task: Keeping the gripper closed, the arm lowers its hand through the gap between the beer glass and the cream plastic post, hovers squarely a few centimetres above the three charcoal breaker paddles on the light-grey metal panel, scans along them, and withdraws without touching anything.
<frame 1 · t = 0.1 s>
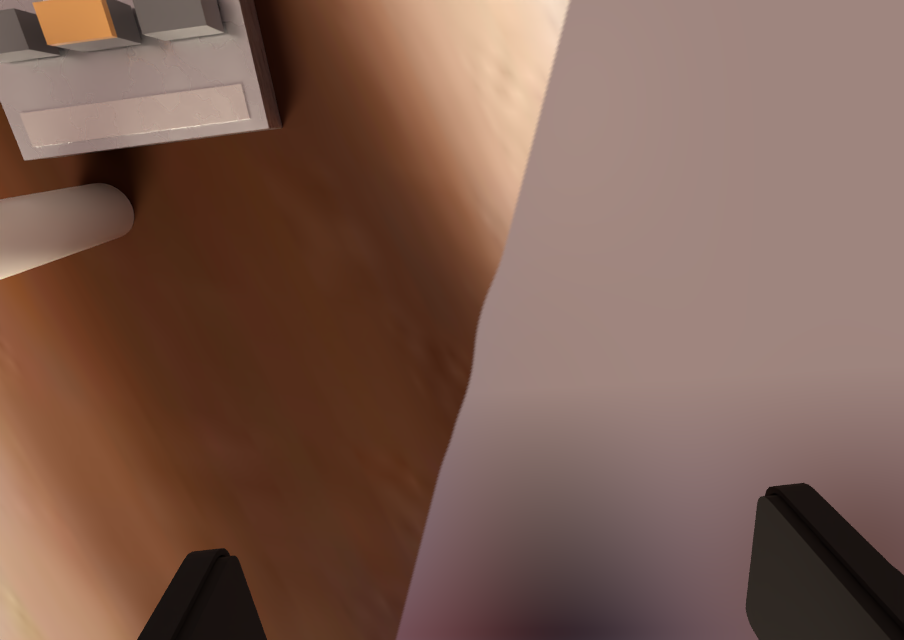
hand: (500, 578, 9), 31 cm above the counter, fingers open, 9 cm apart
paddle mid: (90, 24, 29), point 5 cm above the counter, hinge at 0.0°
breaker panel: (139, 46, 34), on the counter
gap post: (105, 211, 37), on the counter
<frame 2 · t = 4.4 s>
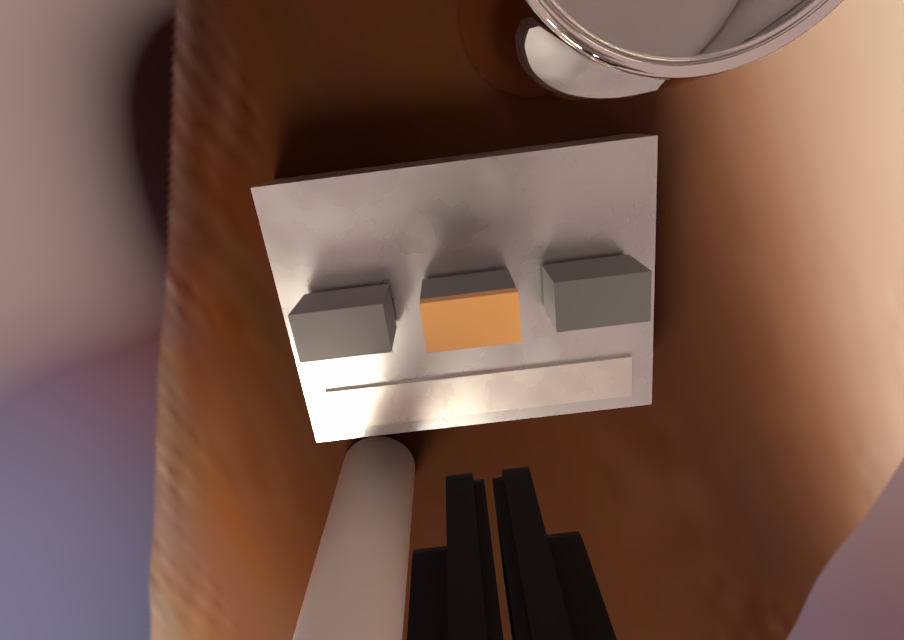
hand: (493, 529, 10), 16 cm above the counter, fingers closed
paddle mid: (469, 309, 20), point 5 cm above the counter, hinge at 0.0°
breaker panel: (465, 284, 25), on the counter
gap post: (379, 466, 29), on the counter
beer glass: (532, 17, 21), on the counter
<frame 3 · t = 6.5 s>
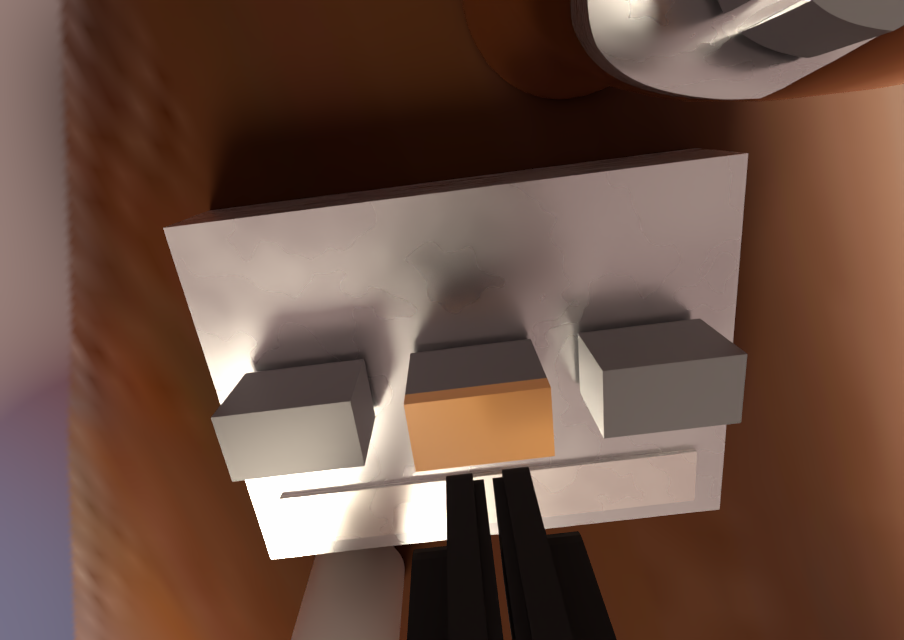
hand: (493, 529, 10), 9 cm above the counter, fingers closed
paddle mid: (477, 400, 14), point 5 cm above the counter, hinge at 0.0°
breaker panel: (469, 346, 19), on the counter
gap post: (359, 569, 23), on the counter
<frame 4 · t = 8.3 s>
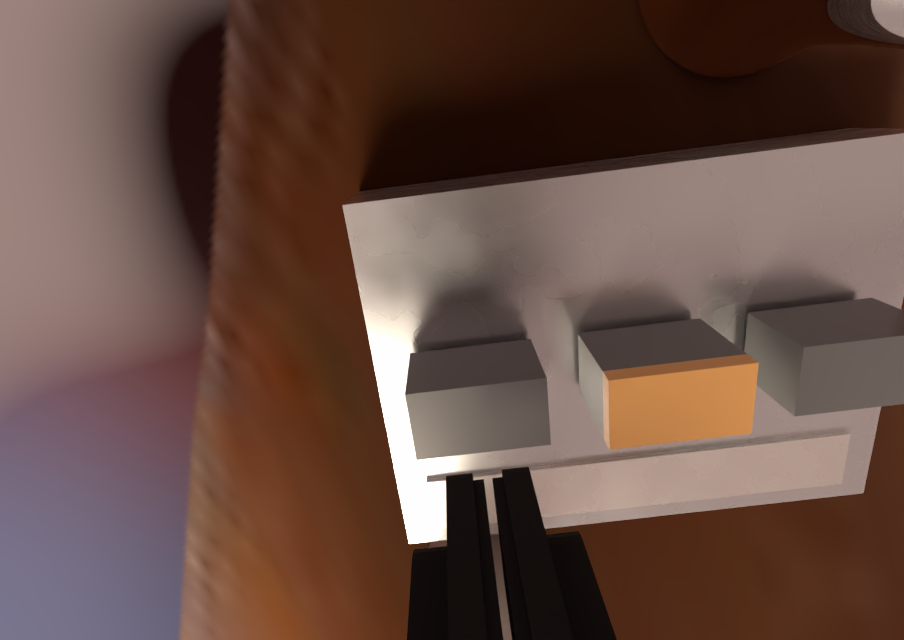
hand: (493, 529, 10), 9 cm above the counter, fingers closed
paddle mid: (657, 379, 14), point 5 cm above the counter, hinge at 0.0°
breaker panel: (605, 330, 19), on the counter
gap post: (472, 556, 23), on the counter
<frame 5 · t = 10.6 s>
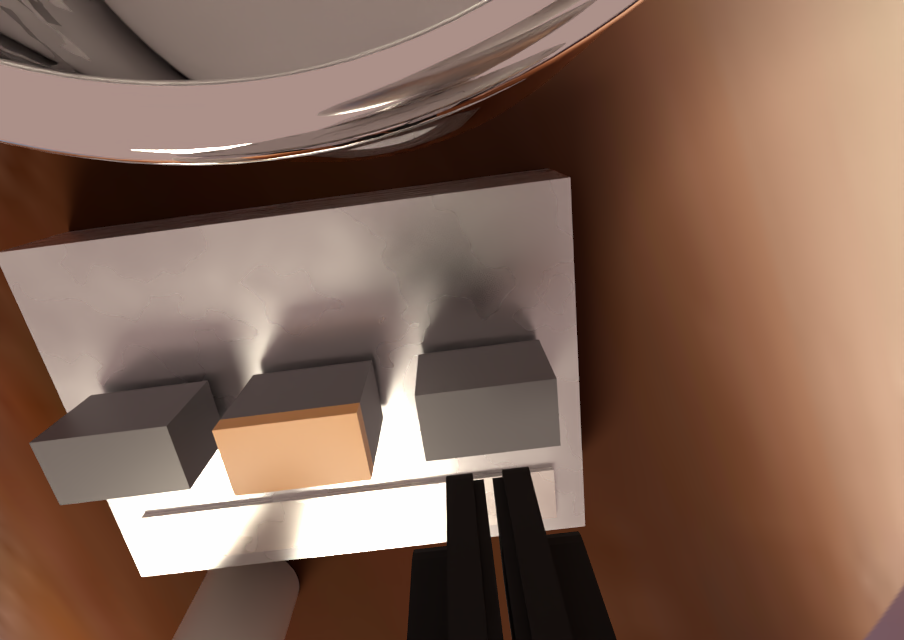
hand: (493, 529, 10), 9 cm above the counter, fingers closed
paddle mid: (307, 423, 14), point 5 cm above the counter, hinge at 0.0°
breaker panel: (342, 364, 19), on the counter
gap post: (253, 583, 23), on the counter
beer glass: (402, 10, 15), on the counter
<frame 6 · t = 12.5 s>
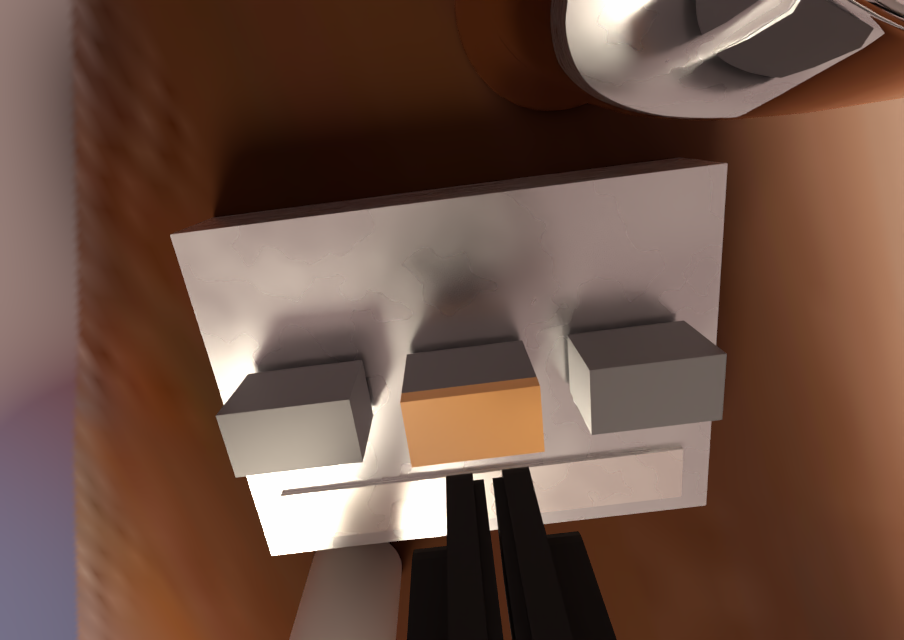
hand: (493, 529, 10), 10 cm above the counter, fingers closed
paddle mid: (470, 399, 15), point 5 cm above the counter, hinge at 0.0°
breaker panel: (464, 348, 20), on the counter
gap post: (357, 566, 23), on the counter
beer glass: (552, 4, 16), on the counter
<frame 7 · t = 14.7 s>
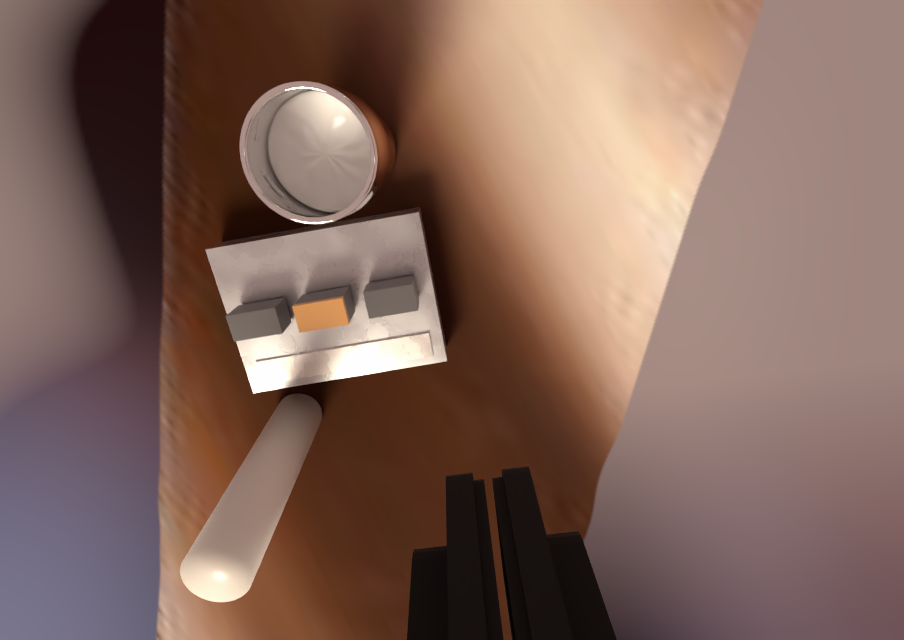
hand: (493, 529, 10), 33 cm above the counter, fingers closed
paddle mid: (325, 308, 38), point 5 cm above the counter, hinge at 0.0°
breaker panel: (338, 296, 43), on the counter
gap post: (299, 413, 46), on the counter
beer glass: (355, 149, 39), on the counter
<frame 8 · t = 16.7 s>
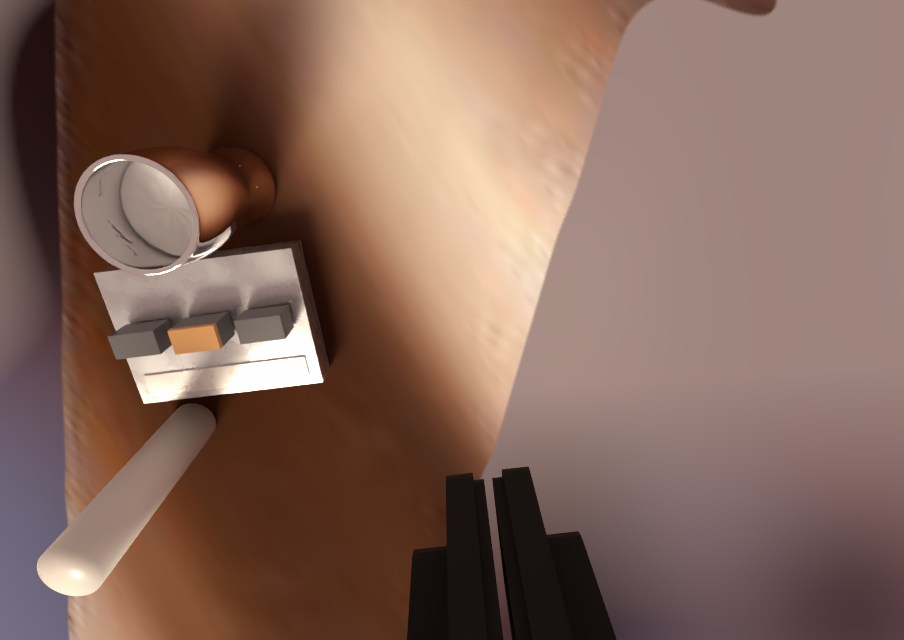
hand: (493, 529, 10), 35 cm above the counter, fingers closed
paddle mid: (202, 332, 41), point 5 cm above the counter, hinge at 0.0°
breaker panel: (227, 317, 46), on the counter
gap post: (194, 421, 50), on the counter
beer glass: (239, 185, 42), on the counter
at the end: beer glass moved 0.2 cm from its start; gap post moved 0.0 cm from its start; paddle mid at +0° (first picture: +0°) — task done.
